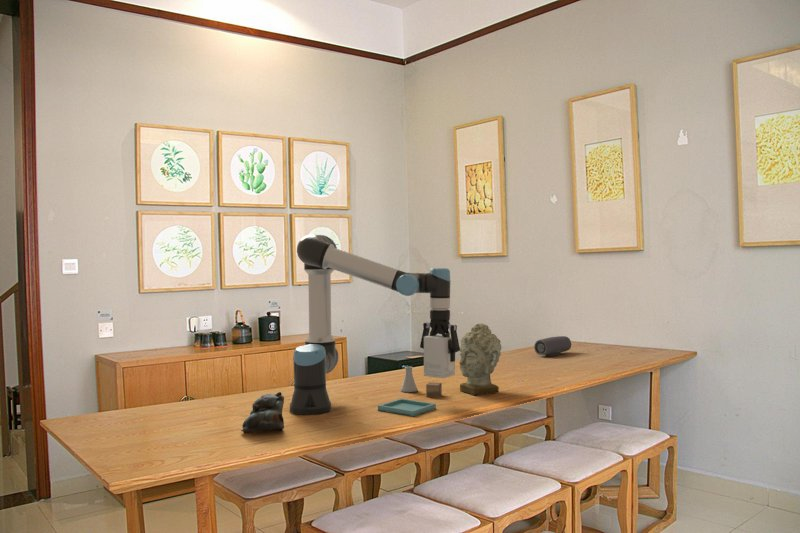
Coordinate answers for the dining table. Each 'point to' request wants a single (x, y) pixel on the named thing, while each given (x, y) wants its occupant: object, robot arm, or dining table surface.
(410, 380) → the flask
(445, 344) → the supplement box
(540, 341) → the bluetooth speaker
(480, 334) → the buddha head
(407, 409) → the tray
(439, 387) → the walnut block
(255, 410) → the lucky cat figurine
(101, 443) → the dining table surface
